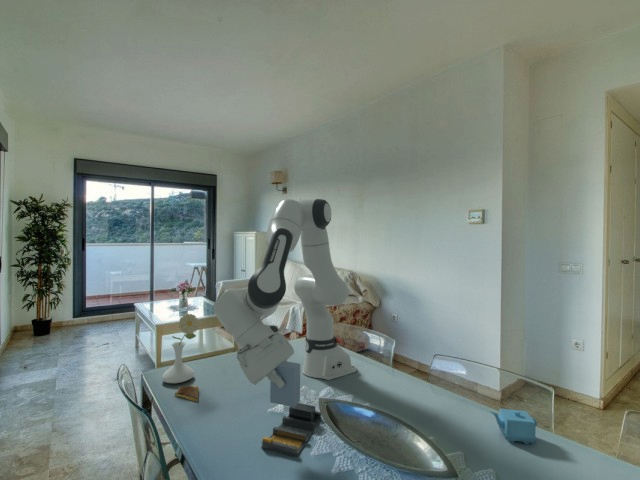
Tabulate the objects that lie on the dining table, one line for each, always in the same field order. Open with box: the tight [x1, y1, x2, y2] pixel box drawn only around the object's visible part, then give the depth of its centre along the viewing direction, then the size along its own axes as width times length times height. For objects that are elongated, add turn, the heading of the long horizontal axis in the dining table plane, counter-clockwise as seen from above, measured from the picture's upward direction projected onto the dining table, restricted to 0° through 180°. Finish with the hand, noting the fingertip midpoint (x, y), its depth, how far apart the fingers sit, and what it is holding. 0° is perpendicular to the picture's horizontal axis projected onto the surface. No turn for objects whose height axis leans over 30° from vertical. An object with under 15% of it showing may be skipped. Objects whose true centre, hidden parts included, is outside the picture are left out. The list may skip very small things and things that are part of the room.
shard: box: [174, 385, 200, 402], centre depth 116 cm, size 11×8×2 cm
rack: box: [261, 402, 323, 458], centre depth 95 cm, size 10×19×4 cm, turn 160°
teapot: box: [490, 408, 538, 445], centre depth 94 cm, size 12×6×8 cm, turn 79°
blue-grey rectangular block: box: [269, 361, 301, 407], centre depth 89 cm, size 7×4×10 cm, turn 70°
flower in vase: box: [161, 313, 200, 384], centre depth 129 cm, size 13×11×25 cm
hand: (287, 381), depth 89 cm, fingers closed on blue-grey rectangular block, 3 cm apart
